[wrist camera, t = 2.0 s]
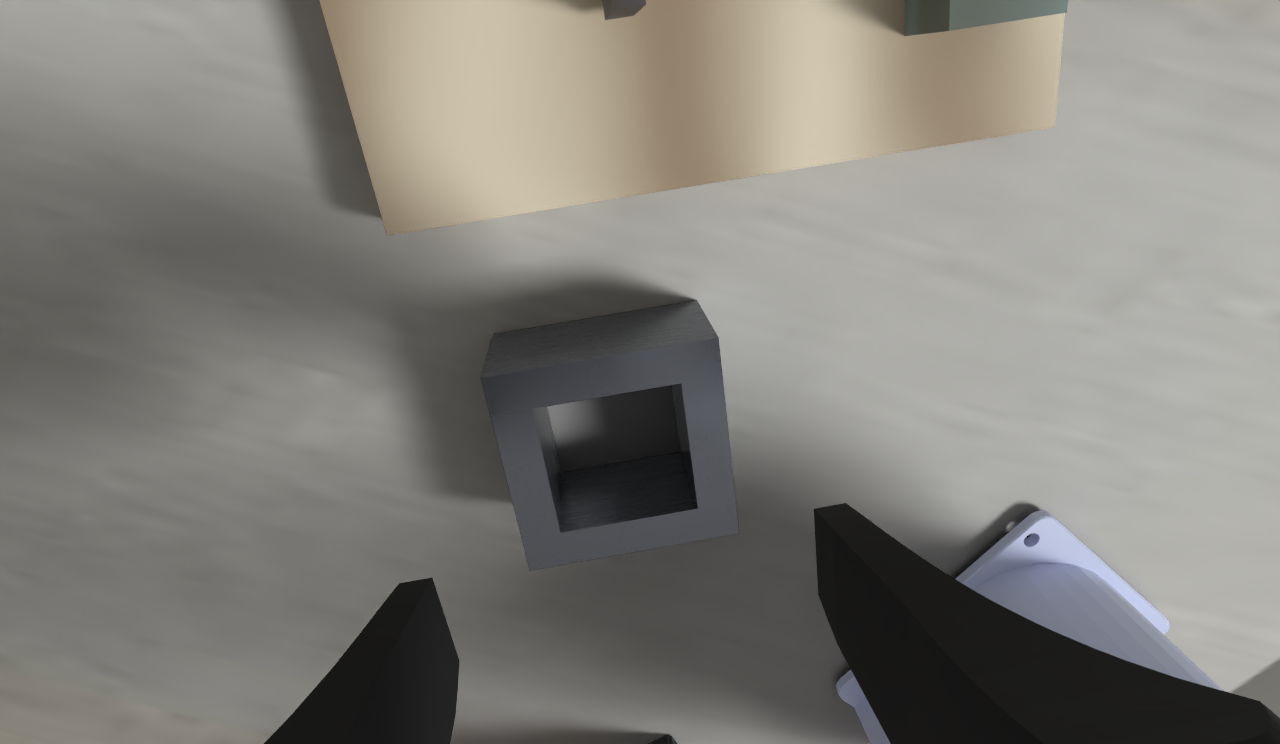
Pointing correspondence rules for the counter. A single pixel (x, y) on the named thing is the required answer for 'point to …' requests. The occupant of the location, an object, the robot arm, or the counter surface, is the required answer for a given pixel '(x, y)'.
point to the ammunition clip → (664, 740)
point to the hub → (622, 492)
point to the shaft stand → (669, 92)
